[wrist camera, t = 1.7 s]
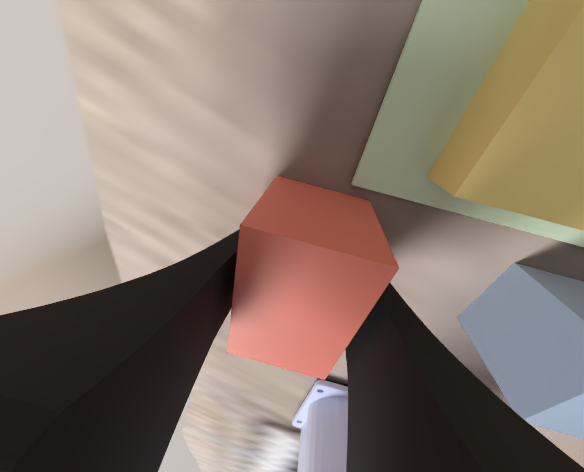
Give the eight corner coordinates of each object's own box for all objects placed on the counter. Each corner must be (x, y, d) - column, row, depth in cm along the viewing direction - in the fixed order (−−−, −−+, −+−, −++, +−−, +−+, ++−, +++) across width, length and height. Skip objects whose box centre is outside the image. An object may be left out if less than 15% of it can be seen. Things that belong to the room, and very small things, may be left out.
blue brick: (528, 337, 11) (627, 451, 8) (456, 317, 11) (519, 421, 8) (602, 285, 9) (791, 409, 5) (513, 262, 9) (640, 368, 6)
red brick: (326, 294, 12) (324, 379, 8) (259, 276, 12) (227, 352, 8) (369, 199, 9) (399, 268, 5) (278, 175, 9) (240, 224, 5)
